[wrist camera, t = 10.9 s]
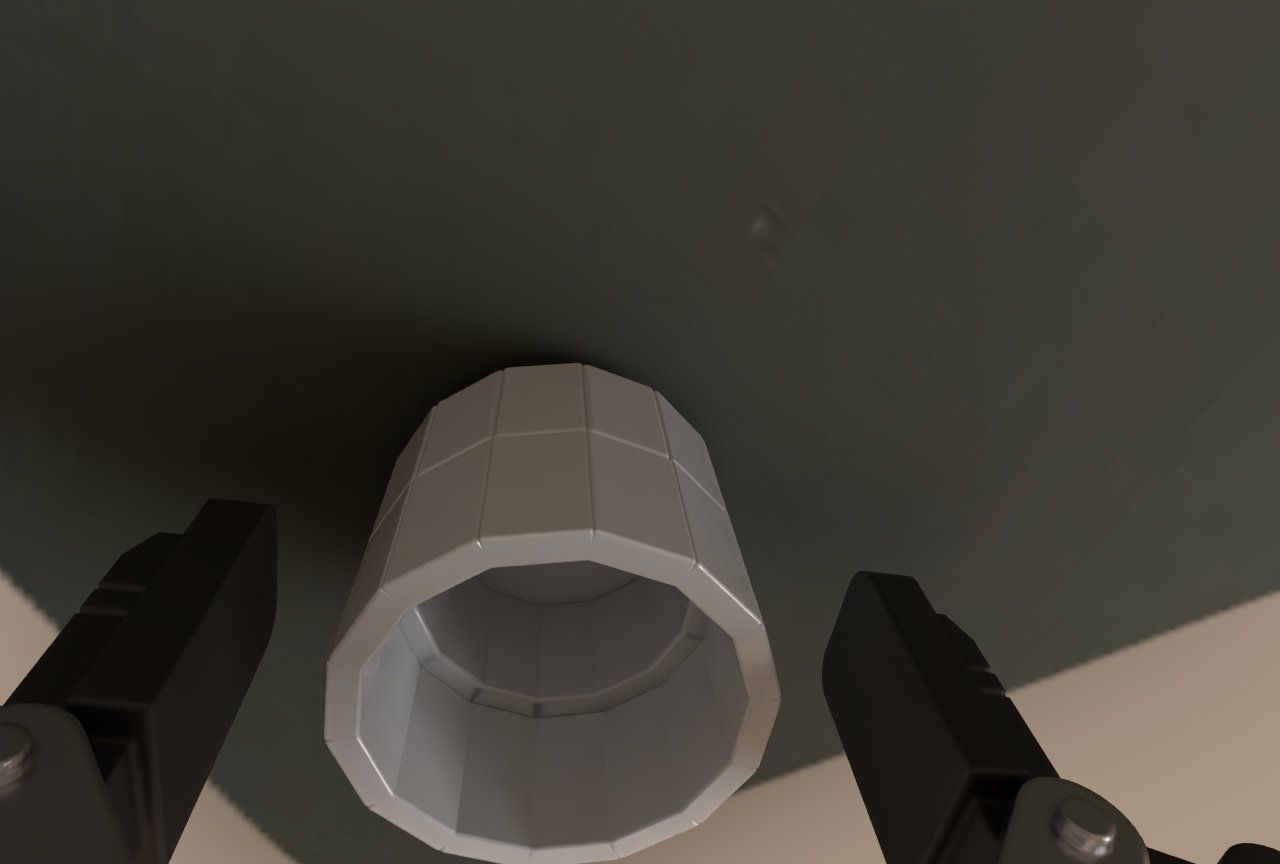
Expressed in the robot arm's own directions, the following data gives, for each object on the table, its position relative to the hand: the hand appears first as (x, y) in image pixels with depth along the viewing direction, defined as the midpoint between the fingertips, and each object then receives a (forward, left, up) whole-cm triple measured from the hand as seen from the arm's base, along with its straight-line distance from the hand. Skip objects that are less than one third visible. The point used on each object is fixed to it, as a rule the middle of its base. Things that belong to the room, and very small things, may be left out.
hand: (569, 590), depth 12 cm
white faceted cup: (0, 0, -3) cm, 3 cm away
